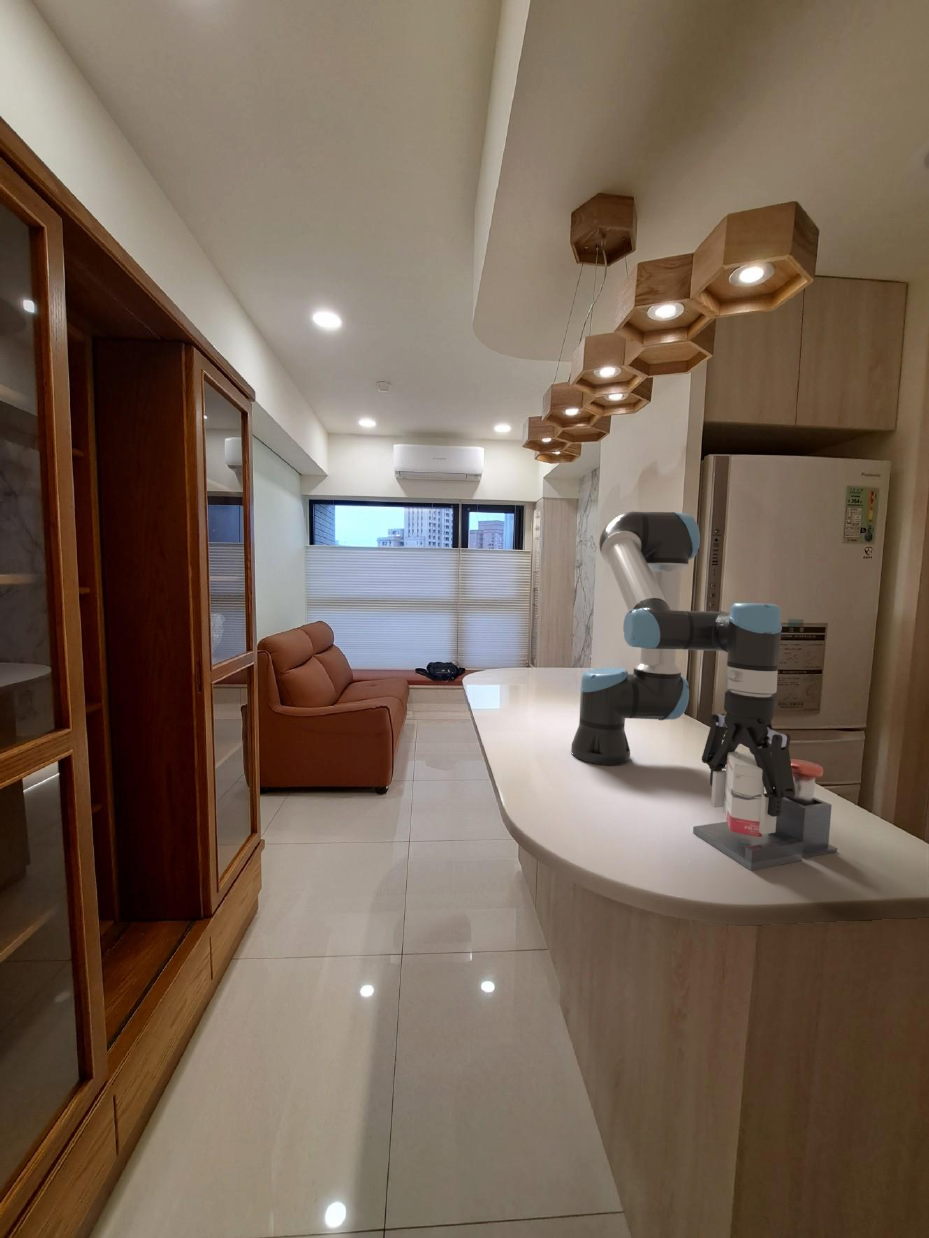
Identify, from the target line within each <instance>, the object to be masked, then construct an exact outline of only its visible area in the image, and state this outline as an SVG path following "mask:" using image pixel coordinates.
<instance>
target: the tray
mask: <svg viewBox="0 0 929 1238" xmlns="http://www.w3.org/2000/svg"><path fill="white" fill-rule="evenodd" d="M692 829H693V830H692V834H694V835H696V836H697V837H699V838H700V839H702V840H703V841H704V842H706V843H707V844H709V845H711V846H712V847H714V849H715V848H716V849H717V850H719V851H720V852H722V853H723V854H725V855H726V856H728V857H729V858H730V859H733V860H734V861H735V862H737V863H739V864H741V865H742V866H743V867H745V868H746V869H748V870H749V871H755V870H756V871H757V870H761V869H765V868H772V867H776V866H780V865H781V866H782V865H787V864H791V863H797V862H798V863H799V862H801V861H803V858H802V851H803V842H802V841H800V840H798V839H797V838H795V839H789V840H783V841H778V840H776V839H775V838H773V837H771V836H769V835H767V834H762V837H757V836H750V835H744V834H740V833H735V832H731V831H730V829H729V826H728V823H727V821H720V822H715V823H714V822H713V823H709V824H708V823H707V824H702V825H695V826H693V828H692Z"/></svg>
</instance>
